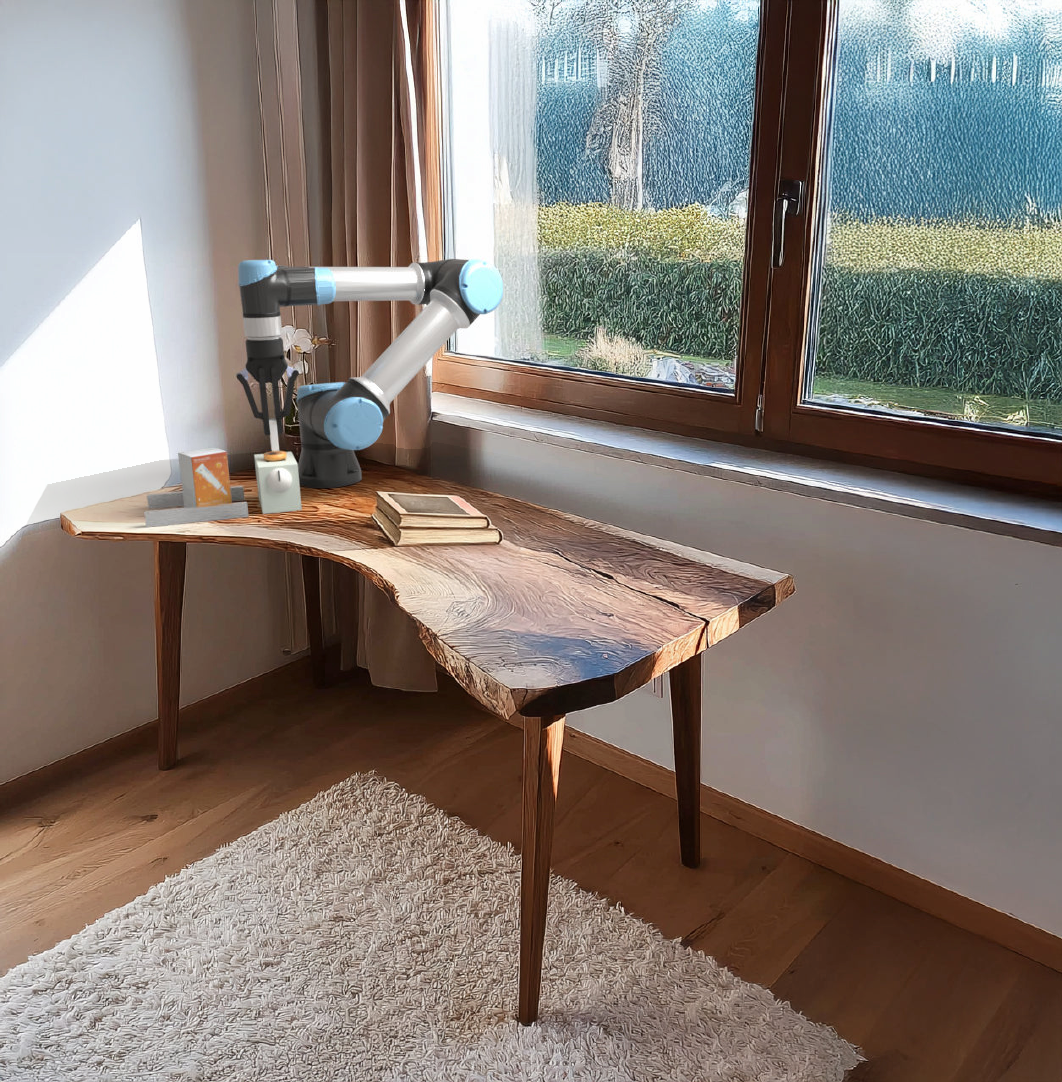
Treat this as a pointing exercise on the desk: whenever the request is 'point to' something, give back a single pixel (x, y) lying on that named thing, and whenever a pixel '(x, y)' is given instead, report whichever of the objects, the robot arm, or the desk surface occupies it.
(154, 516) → the guide rails
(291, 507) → the gauge cabinet
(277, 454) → the button
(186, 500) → the small box
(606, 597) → the desk surface
